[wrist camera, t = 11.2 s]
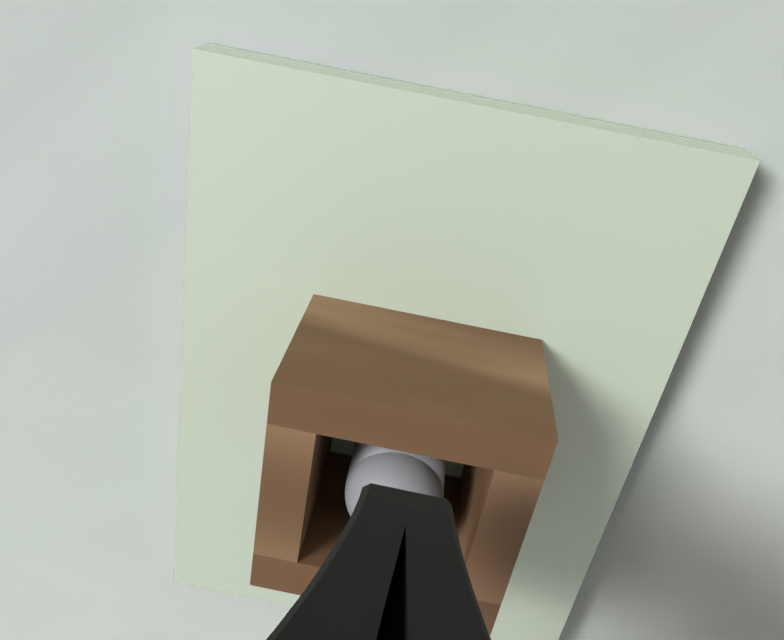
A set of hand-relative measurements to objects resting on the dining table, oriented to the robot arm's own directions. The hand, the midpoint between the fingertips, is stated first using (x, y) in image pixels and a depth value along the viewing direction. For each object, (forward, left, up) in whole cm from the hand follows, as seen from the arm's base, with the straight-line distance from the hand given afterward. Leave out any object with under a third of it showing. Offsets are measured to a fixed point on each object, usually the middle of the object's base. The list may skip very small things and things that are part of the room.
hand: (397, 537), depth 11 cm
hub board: (-2, 0, -8) cm, 8 cm away
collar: (-2, 0, -7) cm, 7 cm away
